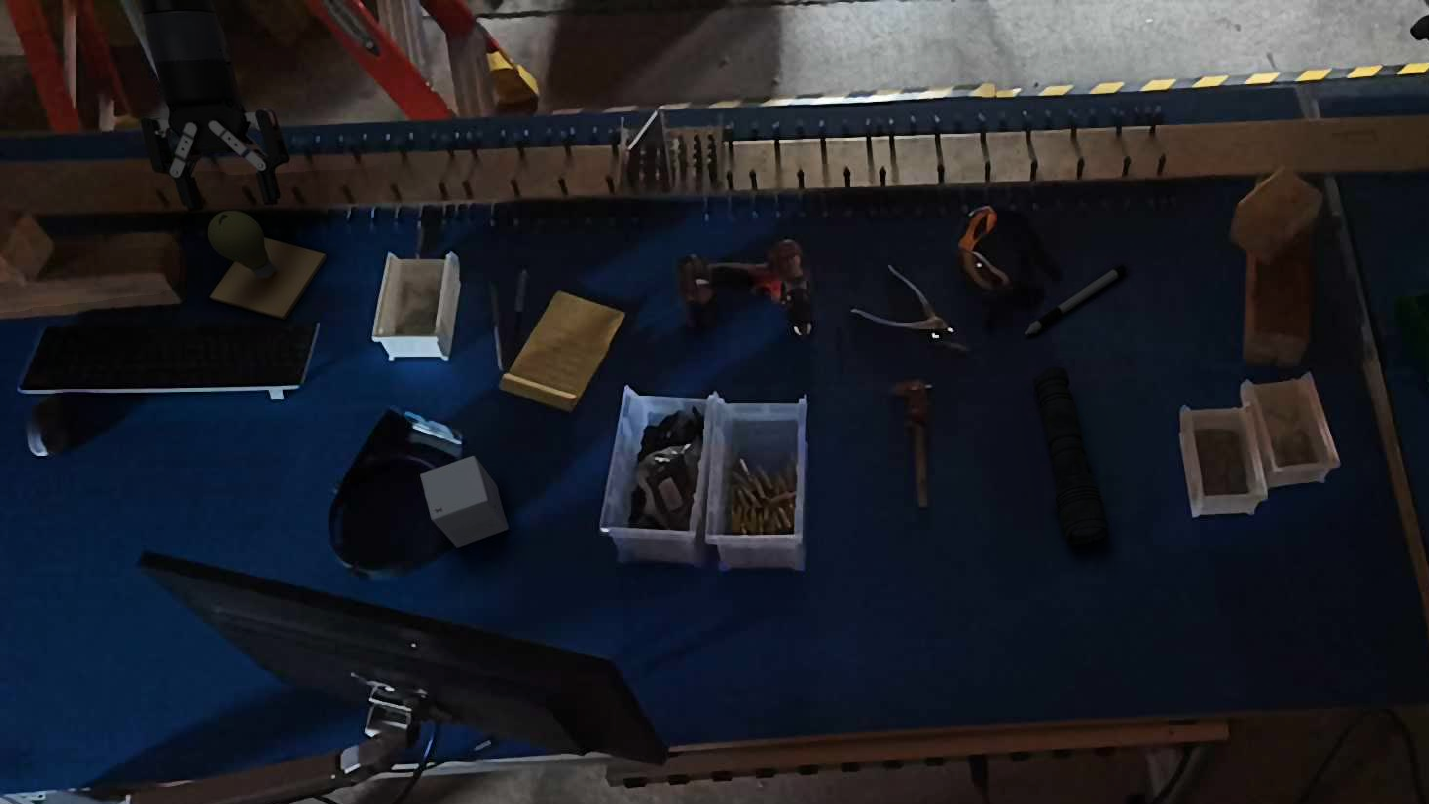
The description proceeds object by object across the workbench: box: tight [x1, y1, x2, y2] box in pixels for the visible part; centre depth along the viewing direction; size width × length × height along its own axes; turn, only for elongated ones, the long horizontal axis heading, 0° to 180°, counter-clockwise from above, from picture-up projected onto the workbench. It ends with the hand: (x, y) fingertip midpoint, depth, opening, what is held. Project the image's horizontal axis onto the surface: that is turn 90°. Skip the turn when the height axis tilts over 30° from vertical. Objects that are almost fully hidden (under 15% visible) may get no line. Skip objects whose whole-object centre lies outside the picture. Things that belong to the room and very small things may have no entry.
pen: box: [1023, 264, 1127, 336], centre depth 138 cm, size 1×16×1 cm, turn 129°
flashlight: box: [1032, 365, 1109, 546], centre depth 127 cm, size 5×21×5 cm, turn 9°
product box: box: [419, 455, 510, 548], centre depth 122 cm, size 6×6×7 cm
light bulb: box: [207, 210, 275, 278], centre depth 134 cm, size 6×6×10 cm
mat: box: [209, 236, 328, 321], centre depth 139 cm, size 10×10×1 cm
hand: (234, 207), depth 132 cm, fingers open, 8 cm apart
